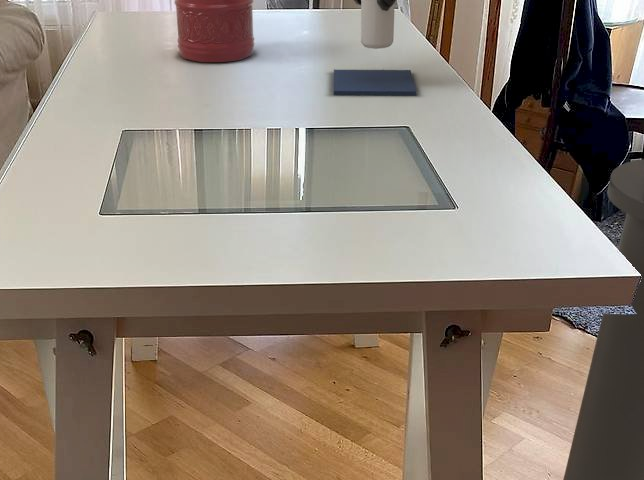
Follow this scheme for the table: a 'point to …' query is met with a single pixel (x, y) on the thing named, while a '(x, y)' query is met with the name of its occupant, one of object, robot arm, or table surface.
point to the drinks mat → (374, 82)
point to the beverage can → (376, 25)
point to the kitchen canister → (215, 29)
